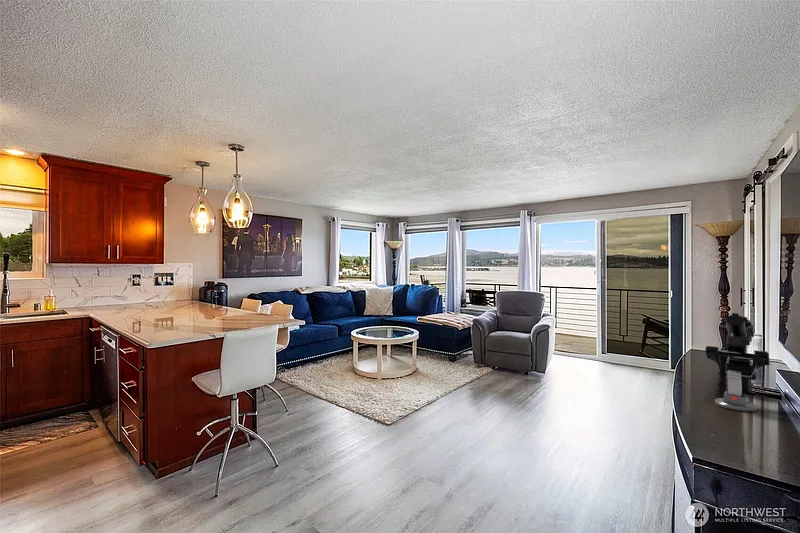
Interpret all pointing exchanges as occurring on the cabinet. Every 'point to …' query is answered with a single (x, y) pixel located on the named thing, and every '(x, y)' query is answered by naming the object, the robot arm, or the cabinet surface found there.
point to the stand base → (736, 403)
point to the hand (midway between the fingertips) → (735, 372)
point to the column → (734, 383)
